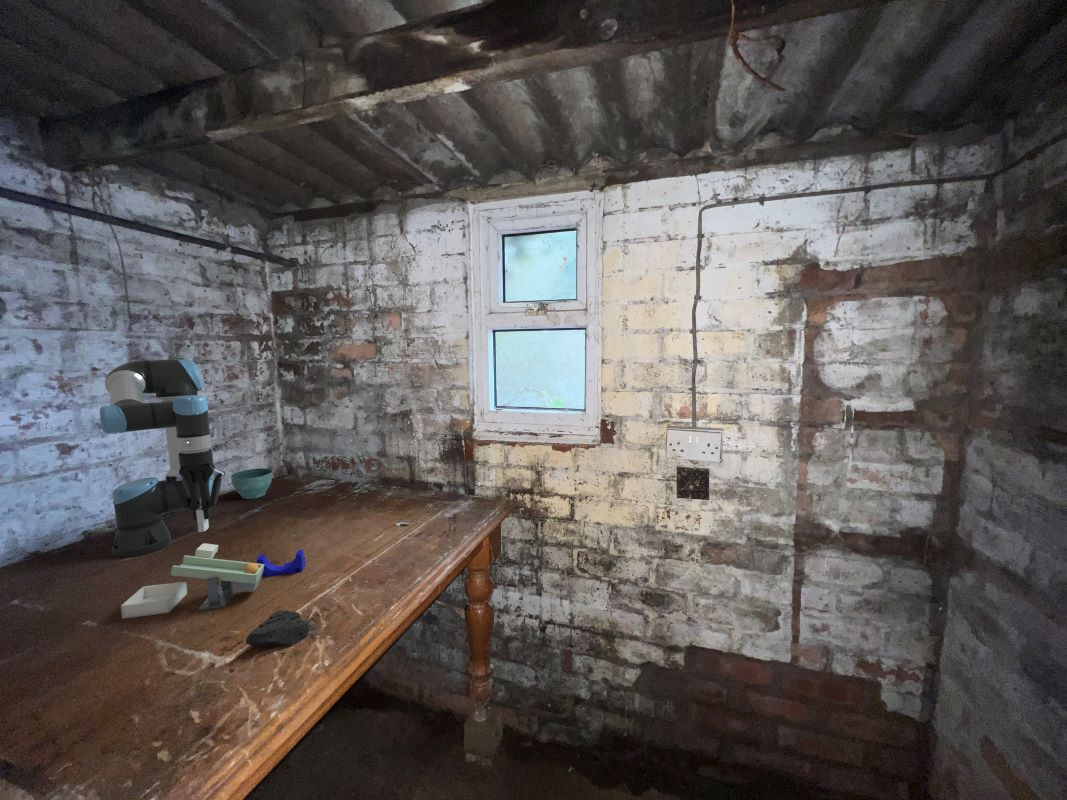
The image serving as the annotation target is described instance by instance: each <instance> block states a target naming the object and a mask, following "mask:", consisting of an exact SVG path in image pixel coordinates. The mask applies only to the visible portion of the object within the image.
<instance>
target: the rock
mask: <svg viewBox="0 0 1067 800" xmlns="http://www.w3.org/2000/svg"><path fill="white" fill-rule="evenodd" d="M310 628H311V624H310V622H309V621H308V620H302V619H301V614H300V612H296V611H290V610H286V609H281V610H278V611H276V612H273V613H272V614H271V615H270V616H269V618H267V619H266V620H264V621H263V622H261V623H259V625H258V626H257V627H256V628H254V629H253V630H252V631H251V632H250V633H249V634H248V635H247V638H246V639H245V644H247V645H250V646H251V647H253V648H266V647H276V646H293V645H295V644H297V643H299V642H300V641H302V640H304V639H305V638H306V637H307V636H308V635H309V633H310Z"/></svg>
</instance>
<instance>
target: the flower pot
mask: <svg viewBox="0 0 1067 800" xmlns="http://www.w3.org/2000/svg"><path fill="white" fill-rule="evenodd" d="M272 478H273V470H272V469H270V468H263V467H262V468H252V469H251V468H249V469H244V470H241V471H238V472H235V473H233V474H231V475H230V479H231V483H232V487H233V488H234V490H235V491H236V493H238V494H239V495H240V497H241V498H242V499H245V500H246V499H247V500H250V499H258V498H262V497H264V496H265V495H266V493H267V490H268V489H269V488H270V485H271V484H272V480H273V479H272Z"/></svg>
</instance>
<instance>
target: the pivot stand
mask: <svg viewBox="0 0 1067 800" xmlns="http://www.w3.org/2000/svg"><path fill="white" fill-rule="evenodd" d="M205 580H206V589H207V598H206V599H205V600H204V602H203V603H202V604H201V605H200V606H199V607H198V611H205V610H206V611H207V610H213V609H221V608H225V607H226V606H228V604H229V603H230V601H231V600H232V598H233V597H234V596H235V595H236V593H237V592H238V590H233V589H234V584H235V583H233V581H223V580H220V583H221V584H219V580H218V577H217V578H208V579H205Z"/></svg>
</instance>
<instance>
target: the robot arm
mask: <svg viewBox="0 0 1067 800" xmlns="http://www.w3.org/2000/svg"><path fill="white" fill-rule="evenodd" d="M202 384H203V383H202V378H201V376H200V373H199V369H198V366H197V364H196V362H195V361H193V360H191V359H153V360H152V359H149V360H146V359H145V360H141V359H138V360H133V361H129V362H128V361H127V362H126V363H123V364H121V365H119V366H117V367H115V368H114V369H112V370H111V371H110V372H109V373H108V374H107V375H106V377H105V380H104V387H105V389H106V390H105V391H107V392H108V393H109V405H104V406H101V407H100V408H99V420H100V425H101V430H102V432H104V433H105V434H114V433H120V434H122V433H130V432H138V431H145V430H146V431H148V430H156V429H165V435H166V444H167V452H168V453H167V454H168V459H169V467H170V468H169V471H167V472H166V473H165V479H164V480H163V479H162V480H159V479H158V477H156V476H154V477H152V476H151V477H144V478H139V479H135V480H131V481H129V482H126V483H123V484H120V485H119V486H117V487H116V488H115V489H114V490H113V492H112V504H113V508H114V516H115V525H116V533H115V537H114V540H113V544H112V546H111V550H112V556H114V557H117V558H129V557H136V556H141V555H145V554H150V553H152V552H155V551H157V550H160V549H163V548H165V547H166V546H168V545H170V543H171V542H172V536H171V532H170V531H169V530H168V528H167V526H166V525H165V522H164V521H163V514H168V513H173V512H179V511H182V510H187V509H190V510H192V516H193V517H192V518H193V521H197V533H203V532H206V531H207V530H208V529H209V527H210V525H209V524H210V523H209V519H210V518H211V517H212V510H211V507H214V506H215V505H216V504H217V503H219V502H218V501H219V496H220V491H221V485H222V481H223V480H222V479H223V478H224V476H225V475H226V472H225V471H220V470H217V469H216V467H215V465H214V456H213V450H212V447H213V446H212V440H211V431H210V419H209V418H210V417H209V405H208V401H207V397H206V396H204V395H200V394H199V393H198V392H200V391H203V385H202ZM147 394H148V395H149V394H150V395H151V394H155V398H156V399H155V400H158V401H159V402H145V397H144V395H147Z"/></svg>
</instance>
